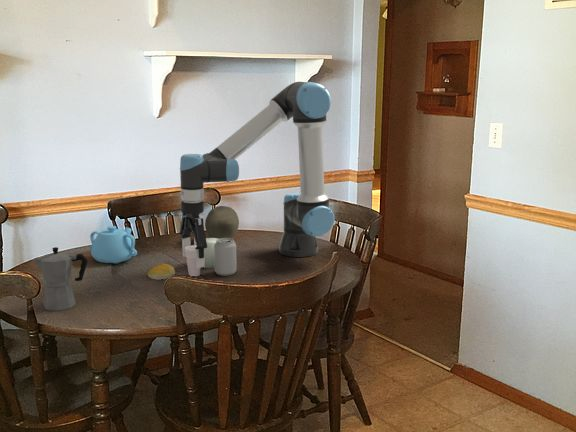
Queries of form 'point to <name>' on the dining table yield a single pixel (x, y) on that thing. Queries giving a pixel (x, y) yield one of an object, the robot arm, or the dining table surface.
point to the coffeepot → (59, 278)
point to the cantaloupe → (222, 222)
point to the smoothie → (192, 260)
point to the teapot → (113, 245)
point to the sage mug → (210, 253)
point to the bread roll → (161, 272)
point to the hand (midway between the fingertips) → (193, 261)
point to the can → (225, 256)
